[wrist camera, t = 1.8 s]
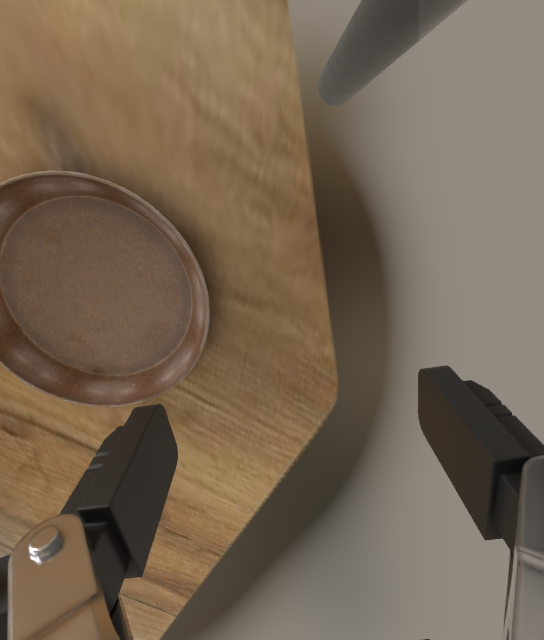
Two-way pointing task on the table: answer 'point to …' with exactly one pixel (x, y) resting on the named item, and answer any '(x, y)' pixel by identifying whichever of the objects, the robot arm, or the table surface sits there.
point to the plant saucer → (95, 291)
